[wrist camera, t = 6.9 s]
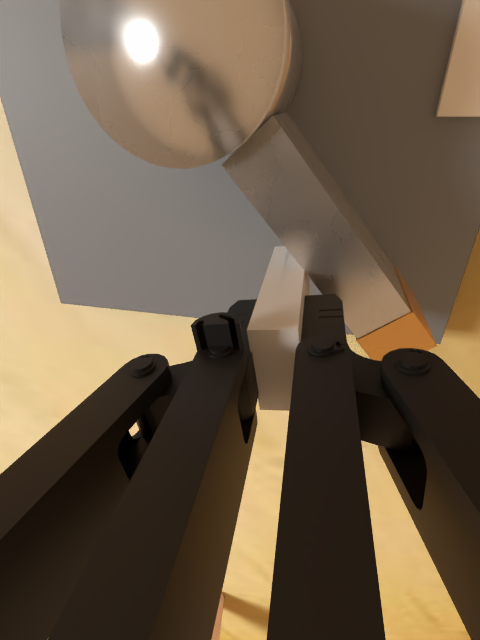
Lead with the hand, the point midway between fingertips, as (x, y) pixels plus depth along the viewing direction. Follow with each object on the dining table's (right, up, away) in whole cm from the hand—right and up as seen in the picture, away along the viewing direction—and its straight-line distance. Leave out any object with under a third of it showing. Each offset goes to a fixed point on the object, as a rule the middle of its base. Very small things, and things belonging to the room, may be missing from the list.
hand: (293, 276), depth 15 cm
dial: (0, +5, 0) cm, 5 cm away
